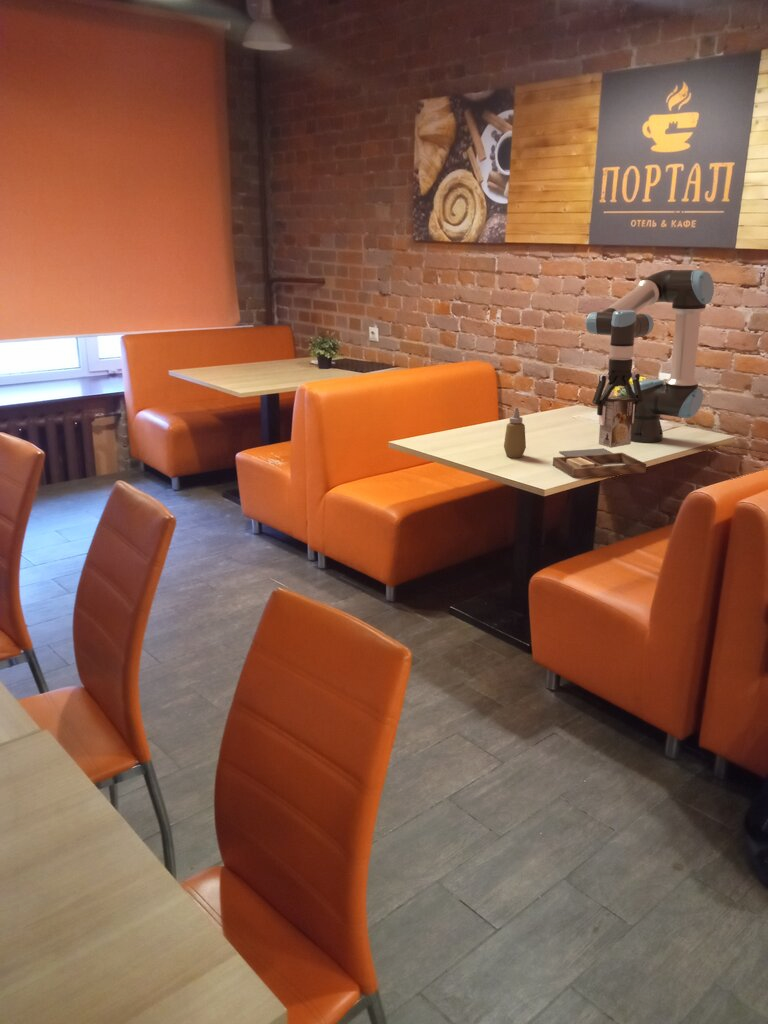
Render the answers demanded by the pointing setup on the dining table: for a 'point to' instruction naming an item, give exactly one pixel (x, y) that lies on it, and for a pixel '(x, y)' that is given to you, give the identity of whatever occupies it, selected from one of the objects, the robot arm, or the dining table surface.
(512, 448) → the squeeze bottle
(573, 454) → the mat
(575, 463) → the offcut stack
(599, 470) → the wooden tray
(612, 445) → the coffee box
